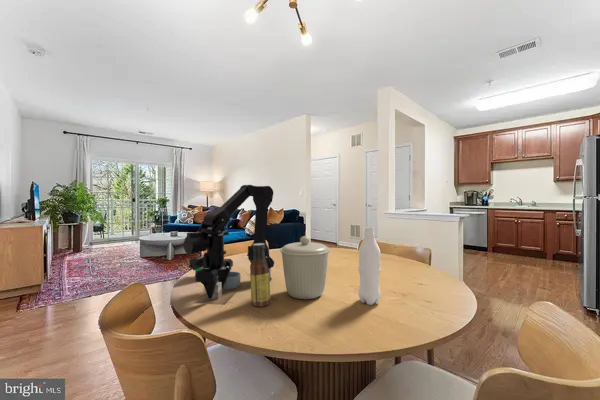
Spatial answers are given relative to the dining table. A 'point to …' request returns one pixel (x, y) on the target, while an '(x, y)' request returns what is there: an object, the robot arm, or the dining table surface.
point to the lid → (216, 296)
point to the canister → (305, 268)
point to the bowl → (232, 281)
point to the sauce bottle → (259, 277)
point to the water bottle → (369, 268)
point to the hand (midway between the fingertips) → (215, 293)
